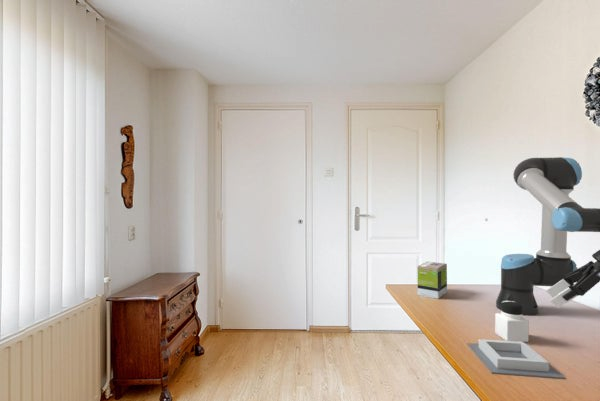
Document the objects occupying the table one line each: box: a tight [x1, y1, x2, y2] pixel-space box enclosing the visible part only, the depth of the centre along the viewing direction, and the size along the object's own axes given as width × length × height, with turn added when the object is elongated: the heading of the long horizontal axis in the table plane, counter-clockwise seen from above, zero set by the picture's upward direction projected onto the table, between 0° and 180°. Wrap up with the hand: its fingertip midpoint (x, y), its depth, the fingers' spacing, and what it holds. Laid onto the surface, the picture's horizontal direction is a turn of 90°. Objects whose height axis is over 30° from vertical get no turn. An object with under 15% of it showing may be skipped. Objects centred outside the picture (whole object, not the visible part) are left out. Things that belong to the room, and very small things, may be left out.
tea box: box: [417, 261, 448, 300], centre depth 164 cm, size 15×10×15 cm
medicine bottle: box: [494, 301, 530, 343], centre depth 113 cm, size 7×7×12 cm
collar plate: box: [466, 338, 566, 380], centre depth 97 cm, size 18×18×4 cm
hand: (551, 298), depth 107 cm, fingers open, 13 cm apart
